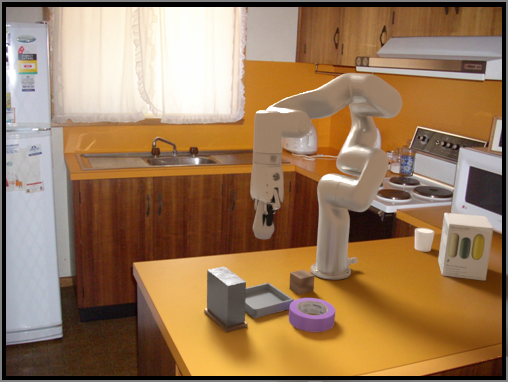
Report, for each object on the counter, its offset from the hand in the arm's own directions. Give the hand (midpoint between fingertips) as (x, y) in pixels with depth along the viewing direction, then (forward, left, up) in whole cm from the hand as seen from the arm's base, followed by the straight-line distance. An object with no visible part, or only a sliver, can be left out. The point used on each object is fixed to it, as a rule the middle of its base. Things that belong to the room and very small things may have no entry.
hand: (263, 225), depth 139 cm
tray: (+1, +2, -22) cm, 22 cm away
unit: (+14, +5, -22) cm, 26 cm away
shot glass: (-74, -7, -22) cm, 77 cm away
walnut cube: (-14, 0, -22) cm, 26 cm away
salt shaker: (0, 0, -3) cm, 3 cm away
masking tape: (-5, +16, -22) cm, 28 cm away
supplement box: (-69, +13, -22) cm, 73 cm away
